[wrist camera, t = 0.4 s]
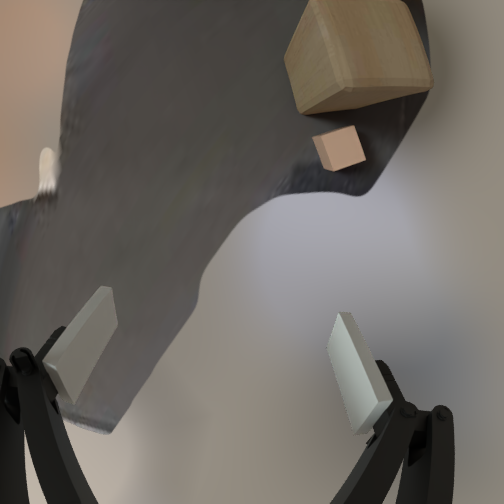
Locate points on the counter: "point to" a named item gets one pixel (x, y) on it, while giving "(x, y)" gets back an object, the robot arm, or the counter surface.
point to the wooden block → (355, 55)
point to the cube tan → (339, 148)
